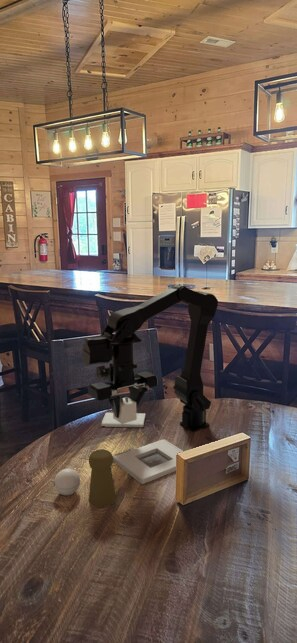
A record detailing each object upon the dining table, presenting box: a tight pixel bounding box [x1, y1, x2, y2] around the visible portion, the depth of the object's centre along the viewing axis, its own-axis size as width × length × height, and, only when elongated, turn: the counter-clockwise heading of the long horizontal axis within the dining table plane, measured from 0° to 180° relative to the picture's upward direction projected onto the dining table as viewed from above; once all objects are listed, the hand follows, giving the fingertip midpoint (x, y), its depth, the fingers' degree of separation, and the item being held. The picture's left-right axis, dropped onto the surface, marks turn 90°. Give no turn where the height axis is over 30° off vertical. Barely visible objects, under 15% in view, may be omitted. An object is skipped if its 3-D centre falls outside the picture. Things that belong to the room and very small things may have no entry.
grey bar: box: [112, 447, 135, 457], centre depth 114 cm, size 9×2×1 cm, turn 125°
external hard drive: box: [101, 412, 147, 428], centre depth 136 cm, size 2×8×12 cm
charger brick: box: [112, 396, 138, 424], centre depth 120 cm, size 5×5×6 cm
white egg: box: [53, 468, 81, 496], centre depth 98 cm, size 8×6×6 cm
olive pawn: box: [88, 448, 117, 508], centre depth 96 cm, size 6×6×11 cm
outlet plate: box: [113, 438, 184, 485], centre depth 112 cm, size 16×13×1 cm
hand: (124, 415), depth 121 cm, fingers closed on charger brick, 5 cm apart
